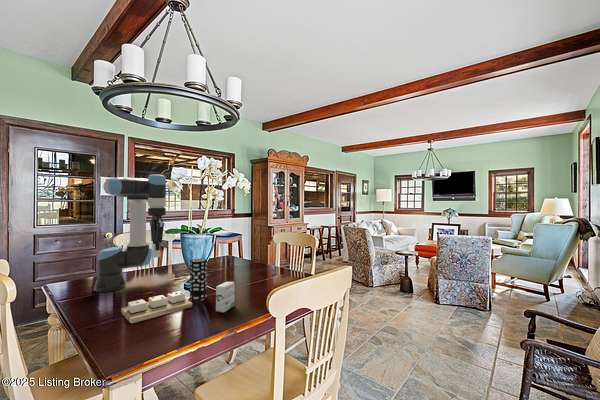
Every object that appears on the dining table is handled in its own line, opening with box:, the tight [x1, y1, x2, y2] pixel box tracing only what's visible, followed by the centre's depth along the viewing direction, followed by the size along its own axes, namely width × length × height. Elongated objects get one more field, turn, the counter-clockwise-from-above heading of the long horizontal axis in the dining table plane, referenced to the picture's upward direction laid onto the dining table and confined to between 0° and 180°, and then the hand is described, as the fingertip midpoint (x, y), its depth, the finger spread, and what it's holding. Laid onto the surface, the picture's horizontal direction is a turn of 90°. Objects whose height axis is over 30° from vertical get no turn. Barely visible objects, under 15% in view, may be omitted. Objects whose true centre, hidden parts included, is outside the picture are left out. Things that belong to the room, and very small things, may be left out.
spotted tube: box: [189, 258, 208, 302], centre depth 144 cm, size 8×8×20 cm
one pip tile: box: [127, 299, 148, 314], centre depth 123 cm, size 6×6×3 cm
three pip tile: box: [167, 290, 186, 304], centre depth 135 cm, size 6×6×3 cm
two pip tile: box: [148, 294, 167, 309], centre depth 129 cm, size 6×6×3 cm
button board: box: [120, 296, 193, 324], centre depth 129 cm, size 16×26×2 cm, turn 135°
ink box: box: [215, 281, 236, 313], centre depth 131 cm, size 9×5×12 cm, turn 158°
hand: (156, 256), depth 131 cm, fingers closed
